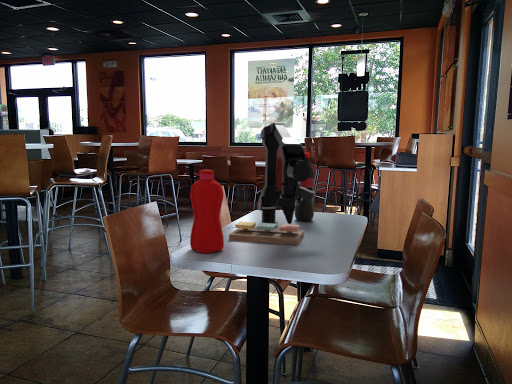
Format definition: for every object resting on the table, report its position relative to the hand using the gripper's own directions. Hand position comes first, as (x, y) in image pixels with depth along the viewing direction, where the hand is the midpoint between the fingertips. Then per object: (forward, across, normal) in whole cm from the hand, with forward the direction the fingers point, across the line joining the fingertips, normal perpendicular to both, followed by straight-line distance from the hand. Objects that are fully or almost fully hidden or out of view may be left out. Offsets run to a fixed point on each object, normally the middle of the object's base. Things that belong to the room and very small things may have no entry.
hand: (289, 223), depth 136 cm
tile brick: (+4, 0, 0) cm, 4 cm away
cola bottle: (+6, +38, 0) cm, 38 cm away
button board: (+6, 0, +8) cm, 10 cm away
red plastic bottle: (+6, -21, +23) cm, 32 cm away
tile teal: (+4, 0, +8) cm, 9 cm away
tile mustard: (+4, 0, +16) cm, 16 cm away
